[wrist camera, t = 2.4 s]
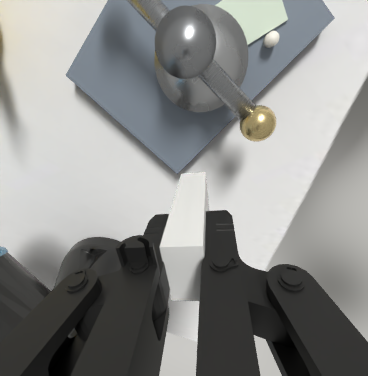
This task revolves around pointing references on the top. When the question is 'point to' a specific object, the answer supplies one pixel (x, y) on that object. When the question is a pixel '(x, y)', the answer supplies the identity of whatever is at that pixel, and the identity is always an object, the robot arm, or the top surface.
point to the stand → (147, 80)
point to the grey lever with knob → (204, 62)
